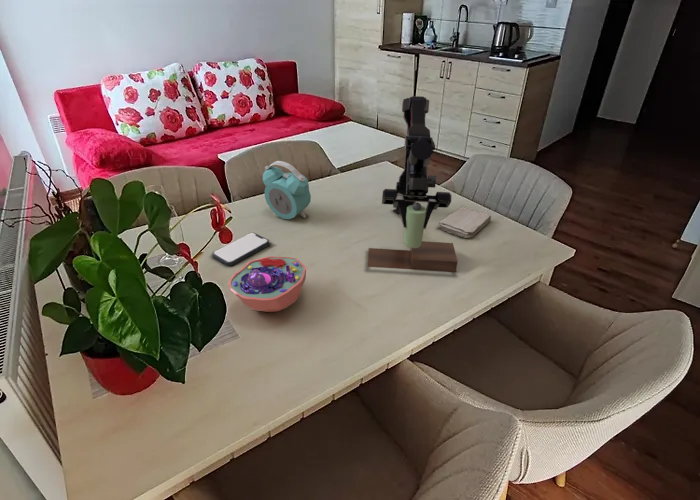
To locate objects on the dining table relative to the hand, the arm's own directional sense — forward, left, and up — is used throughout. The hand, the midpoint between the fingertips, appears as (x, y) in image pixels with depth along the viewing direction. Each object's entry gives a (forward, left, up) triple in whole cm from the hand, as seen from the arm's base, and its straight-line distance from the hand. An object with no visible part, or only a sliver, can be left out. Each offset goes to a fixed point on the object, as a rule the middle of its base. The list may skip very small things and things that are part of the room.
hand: (414, 228), depth 119 cm
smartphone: (+33, -38, -14) cm, 53 cm away
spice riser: (-2, -1, -13) cm, 14 cm away
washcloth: (-34, -5, -14) cm, 37 cm away
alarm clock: (+9, -48, -14) cm, 51 cm away
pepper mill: (-1, -1, -6) cm, 6 cm away
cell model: (+39, -12, -14) cm, 43 cm away
